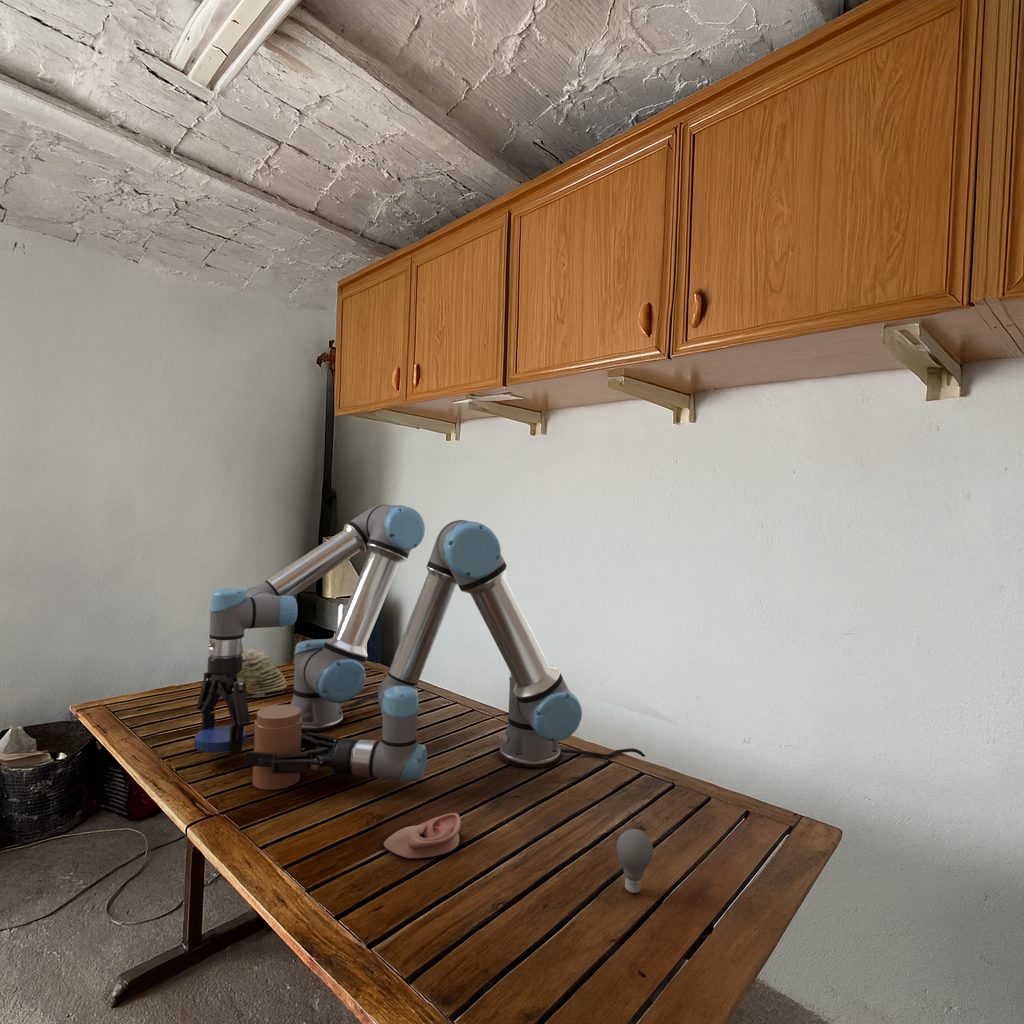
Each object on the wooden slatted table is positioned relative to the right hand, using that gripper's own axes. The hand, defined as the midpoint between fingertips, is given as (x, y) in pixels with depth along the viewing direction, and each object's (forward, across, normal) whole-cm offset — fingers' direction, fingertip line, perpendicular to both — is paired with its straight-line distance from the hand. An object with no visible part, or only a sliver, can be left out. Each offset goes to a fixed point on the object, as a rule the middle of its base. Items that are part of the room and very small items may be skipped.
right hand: (259, 748), depth 141 cm
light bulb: (-80, -27, -7) cm, 85 cm away
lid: (+13, +7, -1) cm, 15 cm away
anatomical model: (-43, -19, -7) cm, 47 cm away
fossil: (+30, +54, -7) cm, 62 cm away
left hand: (+13, +7, -4) cm, 15 cm away
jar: (-4, 0, -7) cm, 8 cm away
